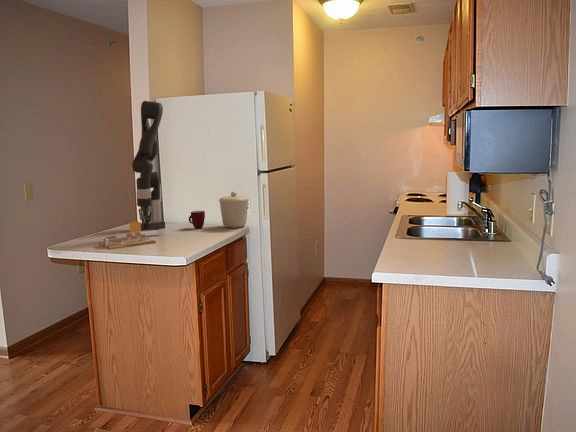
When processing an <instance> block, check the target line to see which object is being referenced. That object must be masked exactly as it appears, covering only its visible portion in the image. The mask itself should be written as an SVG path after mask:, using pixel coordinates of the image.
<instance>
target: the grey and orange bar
mask: <svg viewBox="0 0 576 432" xmlns="http://www.w3.org/2000/svg"><path fill="white" fill-rule="evenodd" d="M128 224H129V232H130V233H135V232H140V233H141V232H145V231H155V230H162V229H166V221H164V220H161V221H159V222H149V229H146V230H145V229H144V223H142V222H140V221H130V222H129V223H128Z"/></svg>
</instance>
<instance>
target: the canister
mask: <svg viewBox="0 0 576 432" xmlns="http://www.w3.org/2000/svg"><path fill="white" fill-rule="evenodd" d="M218 201H219V207H220V213H221V221H222V225H223V226H224V227H225V228H230V229H238V228H243V227H245V226H246V224H247V218H248V208H249V207H248V205H249V201H250V198H248V197H247V196H243V195H237V191H231V192H230V195H227V196H222V197H220V198H219V199H218Z"/></svg>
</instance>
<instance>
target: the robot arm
mask: <svg viewBox="0 0 576 432" xmlns="http://www.w3.org/2000/svg"><path fill="white" fill-rule="evenodd" d="M163 112H164V107H163V104H162V103H161V102H155V101H148V100H143V101H142V102H141V105H140V119H141V123H140V124H141V138H140V141H139V144H138V149H137V153H136V154H135V157H134V159H133V160H132V164H131V167H132V170H133V172H134V173H138V174H139V177H137V178H136V181H135V182H136V206H138V207H140V208H139V209H138V215H139V220H140V221H141V223H144V229H145V230H146V229H149V222H159V221H162V212H161V211H162V209H161V208H162V207H161V190H160V189H161V187H160V185H161V184H160V183H161V181H160V180H161V179H160V174H159V172H157V171H154V165H153V161H154V160H155V158H156V157H157V155H158V153H159V141H158V138H157V133H158V130H159V126H160V124H161V120H162V117H163ZM149 120H153V122H152V124H151V125H150V121H149ZM151 189H152V190H151ZM146 231H147V230H146Z"/></svg>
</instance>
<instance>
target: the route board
mask: <svg viewBox="0 0 576 432" xmlns="http://www.w3.org/2000/svg"><path fill="white" fill-rule="evenodd" d="M125 234H126V238H123V239H122V238H121V237H116V235H110V236H109V235H108V236H102V237H101V241H100V242H99V244H100V245H101V246H103V247H105V248H107V249H109V250H114V249H123V248H129V247H136V246H143V245H150V244H151V245H152V244H157V240H156V239H155V240H154V239H152V238H149V237H147V235H146V233H141V231H140V232H134V234H133V232H126V233H125Z"/></svg>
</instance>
